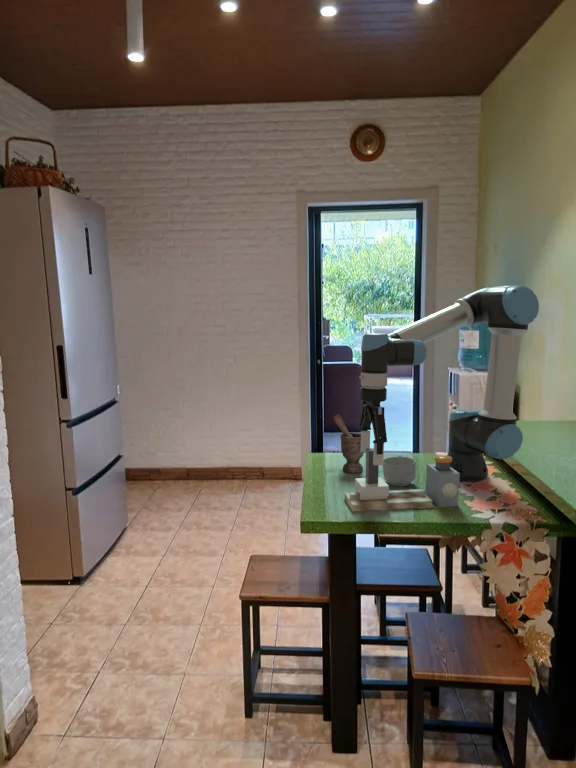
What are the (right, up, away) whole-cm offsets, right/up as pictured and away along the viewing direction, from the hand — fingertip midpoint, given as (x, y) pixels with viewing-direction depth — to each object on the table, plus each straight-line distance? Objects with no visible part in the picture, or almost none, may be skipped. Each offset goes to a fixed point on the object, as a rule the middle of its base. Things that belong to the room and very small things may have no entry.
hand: (371, 458), depth 156 cm
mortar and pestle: (-3, -9, +35) cm, 36 cm away
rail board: (+5, -14, +3) cm, 15 cm away
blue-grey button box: (+22, -14, +5) cm, 26 cm away
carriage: (0, -12, +2) cm, 12 cm away
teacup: (+13, -11, +22) cm, 28 cm away
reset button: (+22, -7, +4) cm, 24 cm away
